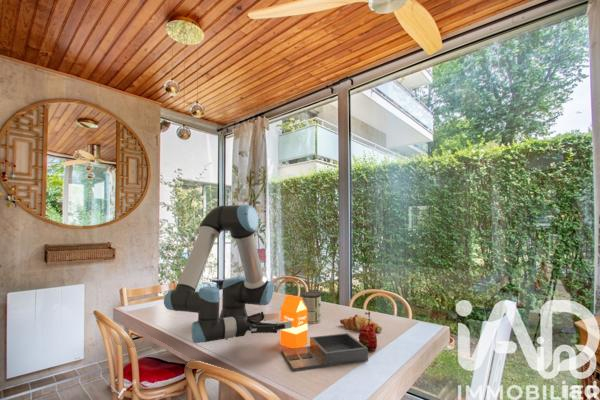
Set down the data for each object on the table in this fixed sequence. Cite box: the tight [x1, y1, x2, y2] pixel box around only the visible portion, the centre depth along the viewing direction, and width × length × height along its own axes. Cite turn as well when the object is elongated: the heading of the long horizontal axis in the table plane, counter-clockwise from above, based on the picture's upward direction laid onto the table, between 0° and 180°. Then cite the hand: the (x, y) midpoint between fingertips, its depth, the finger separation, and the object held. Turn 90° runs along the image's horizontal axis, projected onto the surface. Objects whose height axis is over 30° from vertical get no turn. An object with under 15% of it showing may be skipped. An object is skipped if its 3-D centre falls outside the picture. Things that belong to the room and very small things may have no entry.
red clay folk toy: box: [358, 310, 378, 352], centre depth 126 cm, size 8×7×15 cm
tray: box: [281, 332, 369, 372], centre depth 118 cm, size 29×17×4 cm, turn 107°
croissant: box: [339, 314, 383, 333], centre depth 150 cm, size 21×10×8 cm
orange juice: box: [279, 294, 308, 349], centre depth 131 cm, size 8×9×20 cm
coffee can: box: [301, 291, 322, 325], centre depth 163 cm, size 10×10×14 cm
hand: (284, 319), depth 128 cm, fingers open, 13 cm apart
